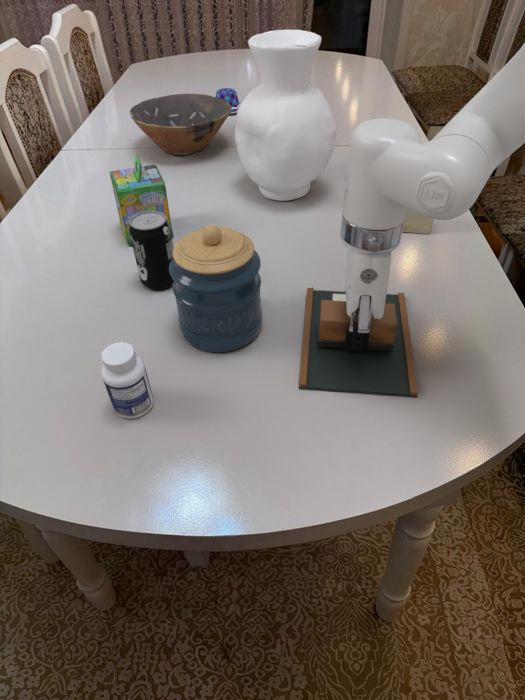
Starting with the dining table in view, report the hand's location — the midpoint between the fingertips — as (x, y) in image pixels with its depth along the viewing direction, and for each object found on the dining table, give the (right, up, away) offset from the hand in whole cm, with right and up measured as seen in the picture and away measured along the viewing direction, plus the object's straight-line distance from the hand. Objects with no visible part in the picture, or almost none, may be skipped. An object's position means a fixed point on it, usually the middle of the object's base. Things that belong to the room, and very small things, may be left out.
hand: (354, 335), depth 74 cm
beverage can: (-32, +10, +14) cm, 36 cm away
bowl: (-34, +51, +56) cm, 83 cm away
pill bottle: (-31, -10, -7) cm, 33 cm away
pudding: (-25, +71, +77) cm, 107 cm away
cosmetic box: (+16, +22, +25) cm, 37 cm away
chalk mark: (-1, +6, +7) cm, 9 cm away
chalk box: (-37, +21, +26) cm, 50 cm away
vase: (-9, +33, +38) cm, 51 cm away
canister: (-20, +1, +5) cm, 21 cm away
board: (0, -1, +2) cm, 2 cm away
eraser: (0, 0, 0) cm, 0 cm away
